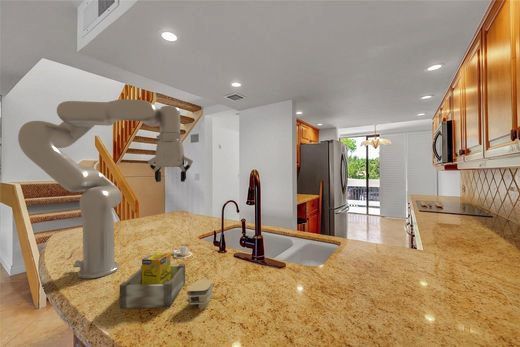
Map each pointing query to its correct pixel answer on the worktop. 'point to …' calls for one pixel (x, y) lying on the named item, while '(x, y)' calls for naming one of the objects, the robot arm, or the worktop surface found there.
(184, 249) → the teacup and saucer
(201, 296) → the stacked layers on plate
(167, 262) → the supplement box
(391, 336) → the worktop surface
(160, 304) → the crate
